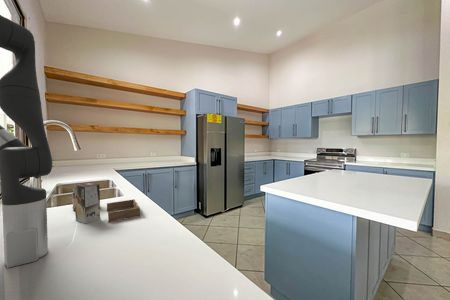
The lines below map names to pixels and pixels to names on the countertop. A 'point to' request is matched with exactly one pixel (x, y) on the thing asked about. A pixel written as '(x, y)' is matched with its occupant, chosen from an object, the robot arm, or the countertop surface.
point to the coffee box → (87, 202)
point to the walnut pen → (123, 213)
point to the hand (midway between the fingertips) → (44, 174)
